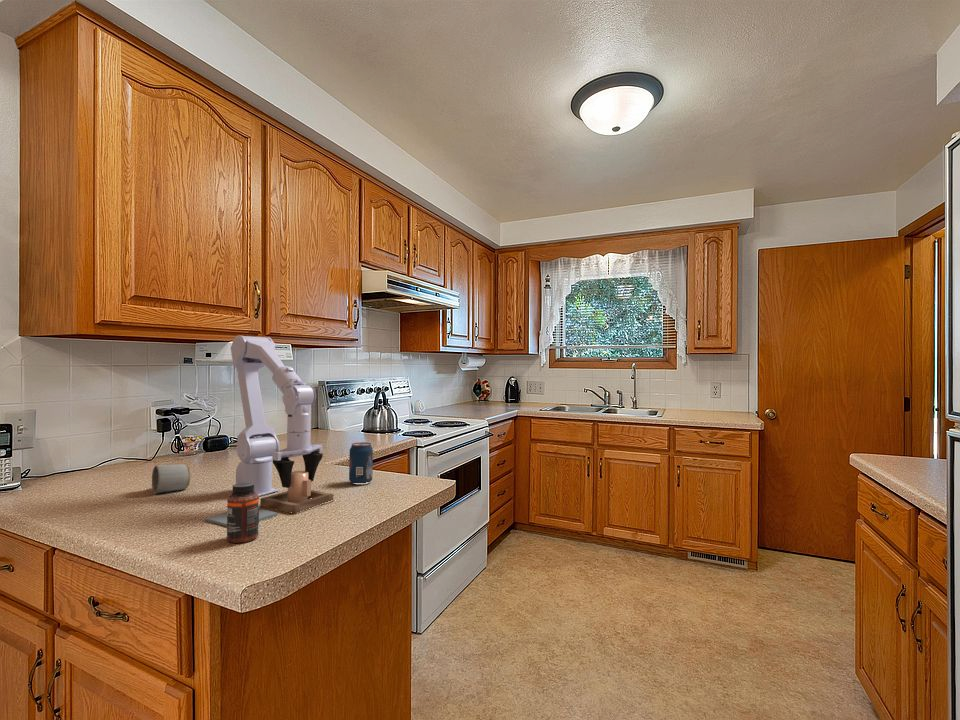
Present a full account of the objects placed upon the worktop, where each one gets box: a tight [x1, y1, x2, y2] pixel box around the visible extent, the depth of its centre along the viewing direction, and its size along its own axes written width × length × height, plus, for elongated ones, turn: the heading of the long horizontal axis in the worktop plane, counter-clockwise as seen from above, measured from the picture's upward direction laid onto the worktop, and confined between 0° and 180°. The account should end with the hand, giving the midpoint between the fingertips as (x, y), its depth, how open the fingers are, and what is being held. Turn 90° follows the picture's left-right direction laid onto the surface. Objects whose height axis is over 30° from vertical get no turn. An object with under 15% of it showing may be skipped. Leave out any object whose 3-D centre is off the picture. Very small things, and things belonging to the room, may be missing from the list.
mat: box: [204, 508, 279, 528], centre depth 113 cm, size 11×11×1 cm
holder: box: [259, 489, 334, 514], centre depth 124 cm, size 12×12×2 cm
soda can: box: [348, 442, 374, 483], centre depth 147 cm, size 7×7×12 cm
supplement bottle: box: [226, 482, 260, 544], centre depth 99 cm, size 6×6×11 cm
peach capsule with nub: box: [286, 470, 312, 503], centre depth 124 cm, size 6×5×8 cm
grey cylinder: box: [151, 463, 191, 495], centre depth 136 cm, size 11×8×8 cm
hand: (298, 483), depth 124 cm, fingers open, 7 cm apart
